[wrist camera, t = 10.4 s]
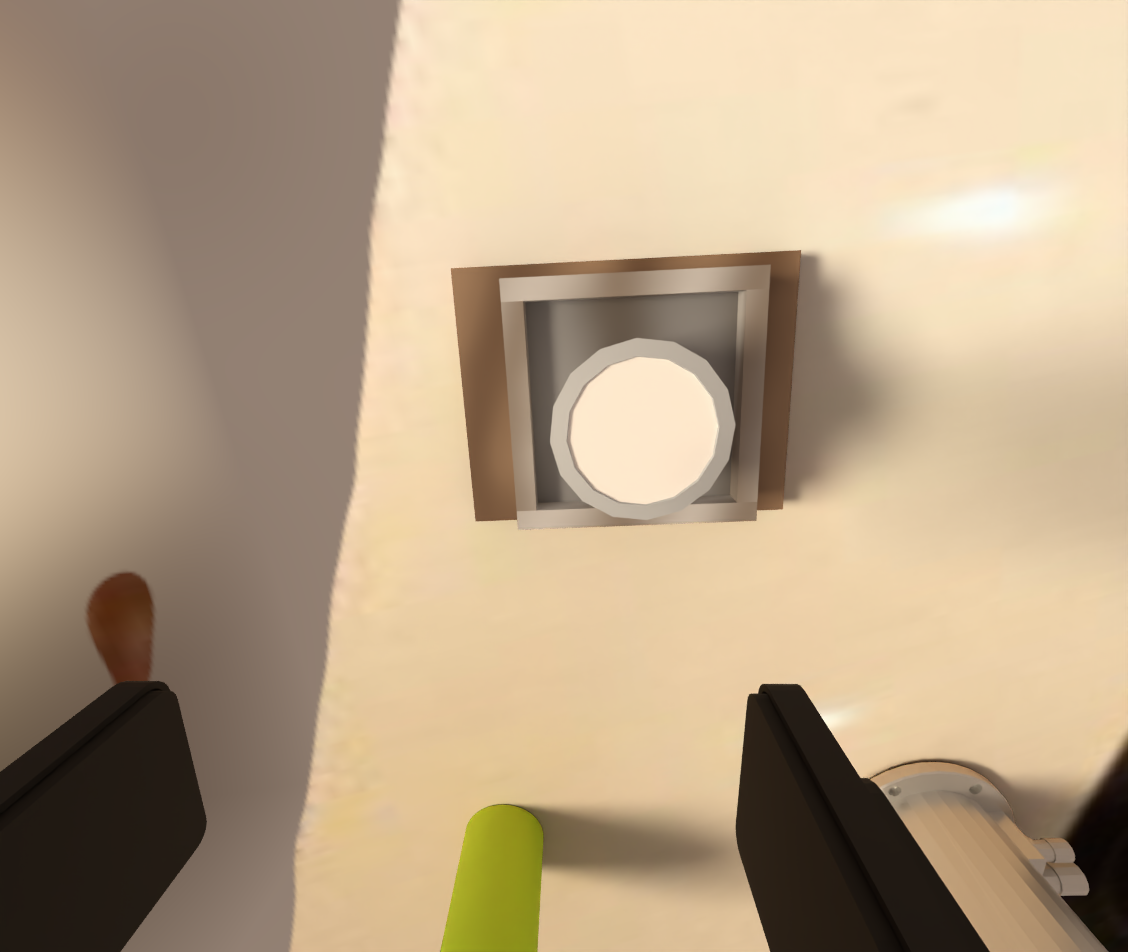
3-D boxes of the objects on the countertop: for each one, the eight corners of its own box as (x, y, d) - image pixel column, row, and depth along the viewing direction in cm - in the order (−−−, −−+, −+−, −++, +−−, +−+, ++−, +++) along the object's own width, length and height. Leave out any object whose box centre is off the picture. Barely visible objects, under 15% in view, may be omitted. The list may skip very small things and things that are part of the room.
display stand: (789, 254, 28) (842, 236, 23) (772, 501, 32) (814, 536, 26) (456, 271, 29) (429, 257, 23) (480, 512, 32) (461, 550, 27)
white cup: (691, 328, 25) (735, 328, 18) (695, 466, 27) (737, 513, 20) (548, 342, 25) (539, 347, 18) (562, 479, 27) (559, 529, 20)
